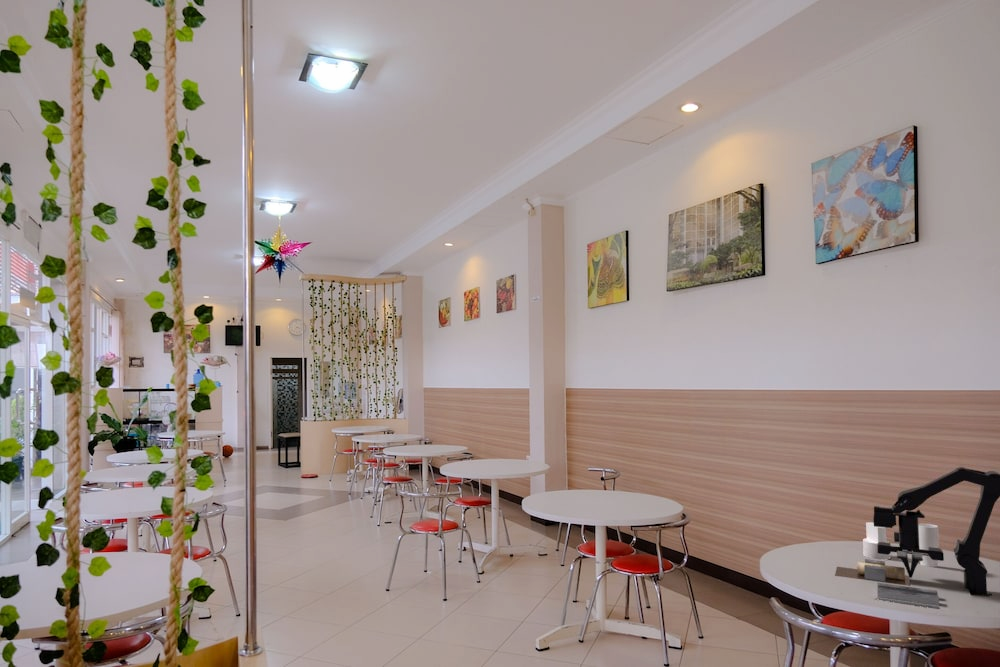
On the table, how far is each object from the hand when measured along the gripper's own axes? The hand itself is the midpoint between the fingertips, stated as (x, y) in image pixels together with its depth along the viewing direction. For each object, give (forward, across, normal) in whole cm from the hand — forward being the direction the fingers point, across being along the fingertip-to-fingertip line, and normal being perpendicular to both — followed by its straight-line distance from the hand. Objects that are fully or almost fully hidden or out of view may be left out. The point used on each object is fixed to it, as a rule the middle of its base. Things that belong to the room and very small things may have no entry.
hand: (910, 577), depth 222 cm
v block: (+2, +2, +19) cm, 19 cm away
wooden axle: (+1, +9, 0) cm, 9 cm away
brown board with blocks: (+2, +10, 0) cm, 11 cm away
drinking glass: (+2, -6, -24) cm, 25 cm away
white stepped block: (+2, +10, -31) cm, 33 cm away
